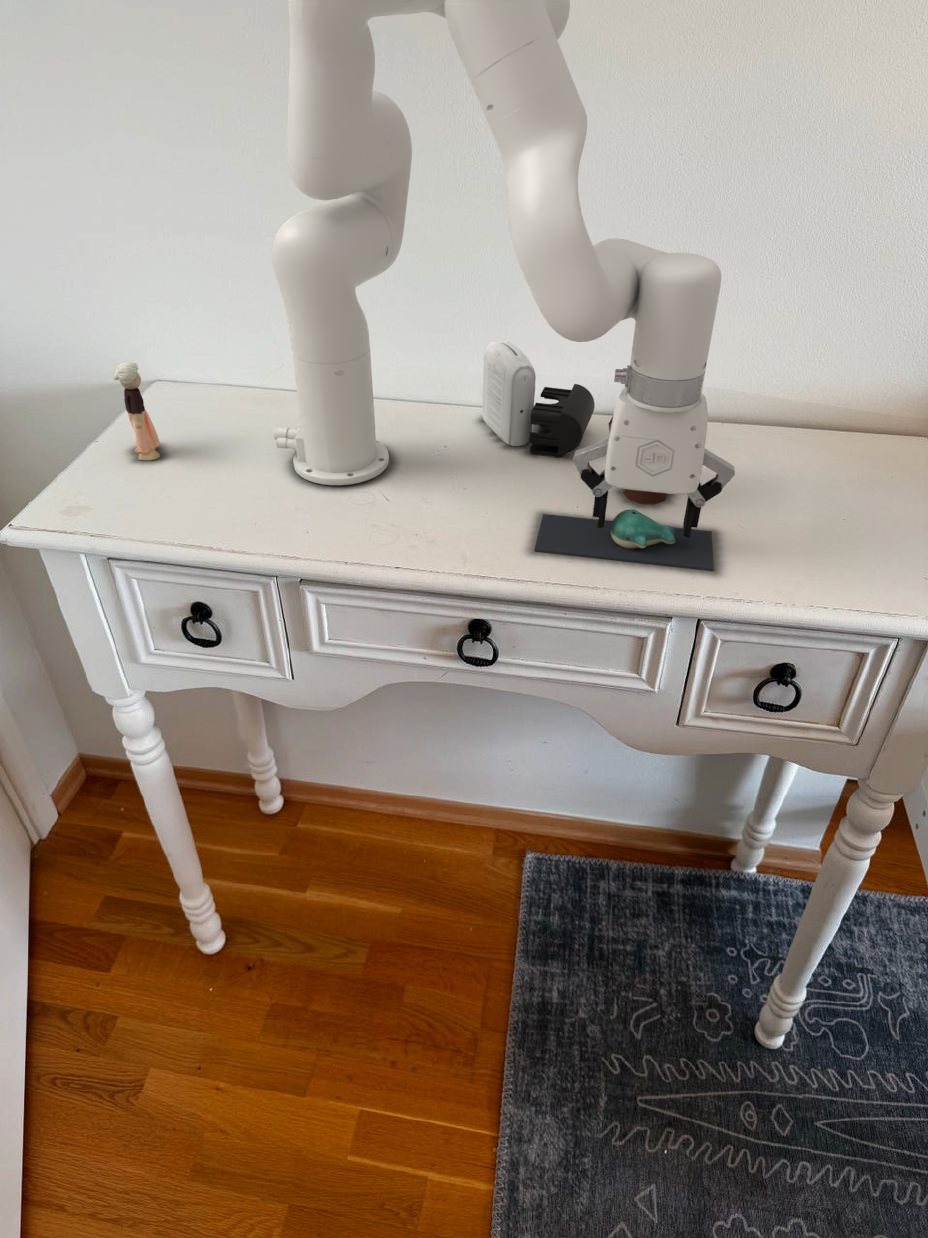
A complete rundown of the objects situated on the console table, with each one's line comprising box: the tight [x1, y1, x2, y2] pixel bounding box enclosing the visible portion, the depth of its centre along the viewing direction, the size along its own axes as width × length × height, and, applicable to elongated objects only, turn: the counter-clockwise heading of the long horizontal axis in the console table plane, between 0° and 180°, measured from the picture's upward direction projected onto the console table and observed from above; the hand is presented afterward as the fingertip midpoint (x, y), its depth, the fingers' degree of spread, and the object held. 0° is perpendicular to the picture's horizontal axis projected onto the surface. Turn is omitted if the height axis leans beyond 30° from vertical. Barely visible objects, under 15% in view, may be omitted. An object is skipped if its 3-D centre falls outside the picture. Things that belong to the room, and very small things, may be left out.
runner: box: [533, 513, 714, 572], centre depth 103 cm, size 20×8×1 cm, turn 79°
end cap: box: [528, 383, 595, 458], centre depth 121 cm, size 10×7×7 cm
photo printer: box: [481, 340, 537, 447], centre depth 122 cm, size 10×4×12 cm, turn 23°
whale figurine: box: [611, 508, 675, 548], centre depth 101 cm, size 6×7×4 cm
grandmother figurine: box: [112, 361, 161, 461], centre depth 117 cm, size 8×4×13 cm, turn 35°
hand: (643, 526), depth 101 cm, fingers open, 9 cm apart
